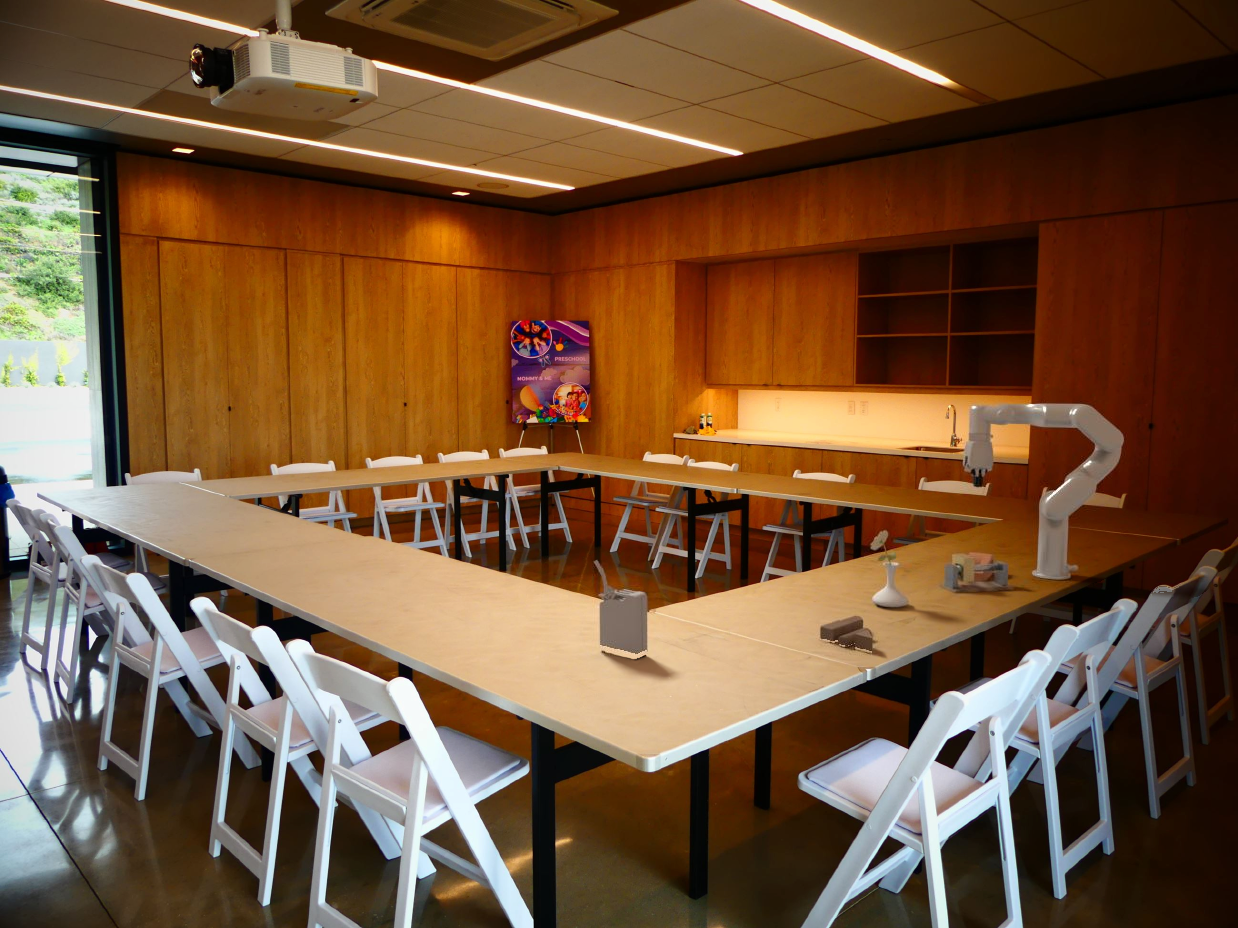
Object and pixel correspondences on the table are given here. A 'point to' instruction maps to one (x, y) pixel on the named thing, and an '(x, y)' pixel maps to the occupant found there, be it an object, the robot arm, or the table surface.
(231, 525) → the table surface
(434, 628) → the table surface
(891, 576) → the flower in vase
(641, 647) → the jerry can
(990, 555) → the crank
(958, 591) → the base board
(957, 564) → the collar
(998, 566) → the pipe rail
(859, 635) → the wooden block set
